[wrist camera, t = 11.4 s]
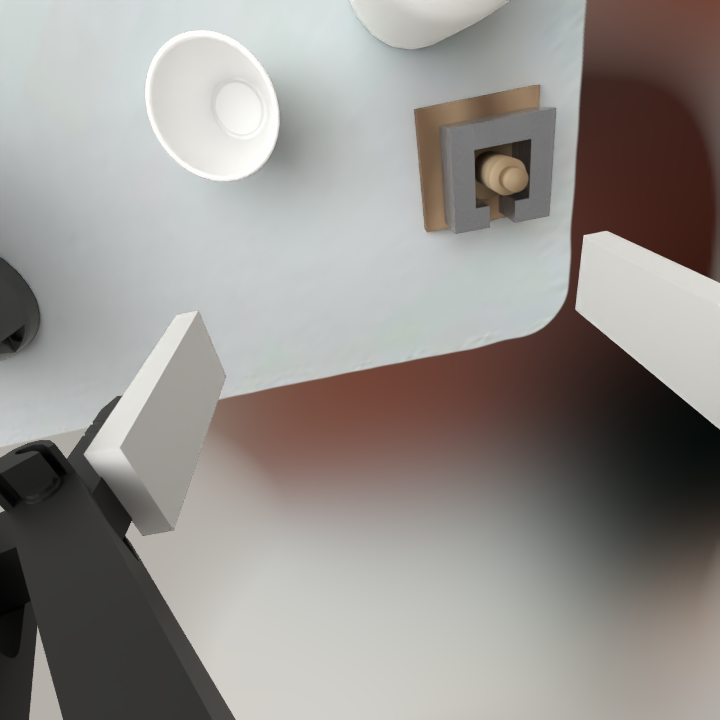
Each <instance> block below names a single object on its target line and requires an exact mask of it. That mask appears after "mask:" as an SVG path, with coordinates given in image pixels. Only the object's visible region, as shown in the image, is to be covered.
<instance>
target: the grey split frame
mask: <svg viewBox="0 0 720 720" xmlns="http://www.w3.org/2000/svg"><path fill="white" fill-rule="evenodd" d="M555 119H556V108H553V107H530V108H525V109H521V110H516V111H511V112H506V113H501V114H496V115H491V116H486V117H481V118H476V119H471V120H466V121H461V122H456V123H451V124H446V125H441V126H439V141H440V156H441V172H442V187H443V202H444V218H445V223H446V224H447V225H448V226H449V227H450V228H451V229H452V230H453V231H454V233H455V234H457V233H463V232H468V231H473V230H478V229H484V228H489V227H490V206H489V205H488V204H486V203H485V202H483V201H482V200H480V199H479V198H477V197H476V196H475V159H474V150H477V149H482V148H487V147H492V146H497V145H502V144H508V143H512V158H516V159H518V160H520V161H521V162H522V163H523V164H524V166H525V169H526V172H527V174H528V183H527V185H526V187H525V188H524V189H523V190H522V191H520V192H515V193H513V194H511V195H501V194H499V212H500V213H501V214H503V215H504V216H506V217H507V218H509V219H510V220H512V221H513V222H520V221H525V220H530V219H536V218H541V217H546V216H549V212H550V197H551V181H552V166H553V150H554V135H555Z"/></svg>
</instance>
